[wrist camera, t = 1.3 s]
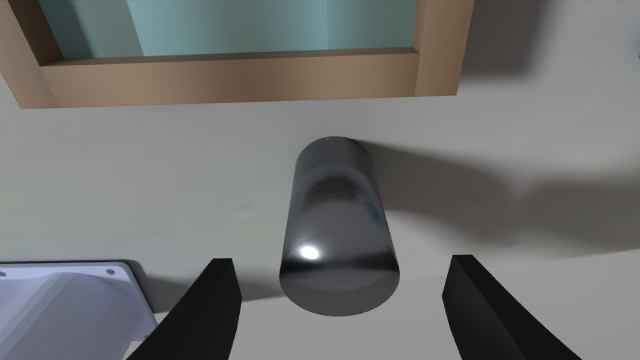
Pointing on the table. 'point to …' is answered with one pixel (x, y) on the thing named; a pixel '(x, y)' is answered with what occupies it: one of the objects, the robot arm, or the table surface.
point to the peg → (337, 233)
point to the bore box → (229, 50)
